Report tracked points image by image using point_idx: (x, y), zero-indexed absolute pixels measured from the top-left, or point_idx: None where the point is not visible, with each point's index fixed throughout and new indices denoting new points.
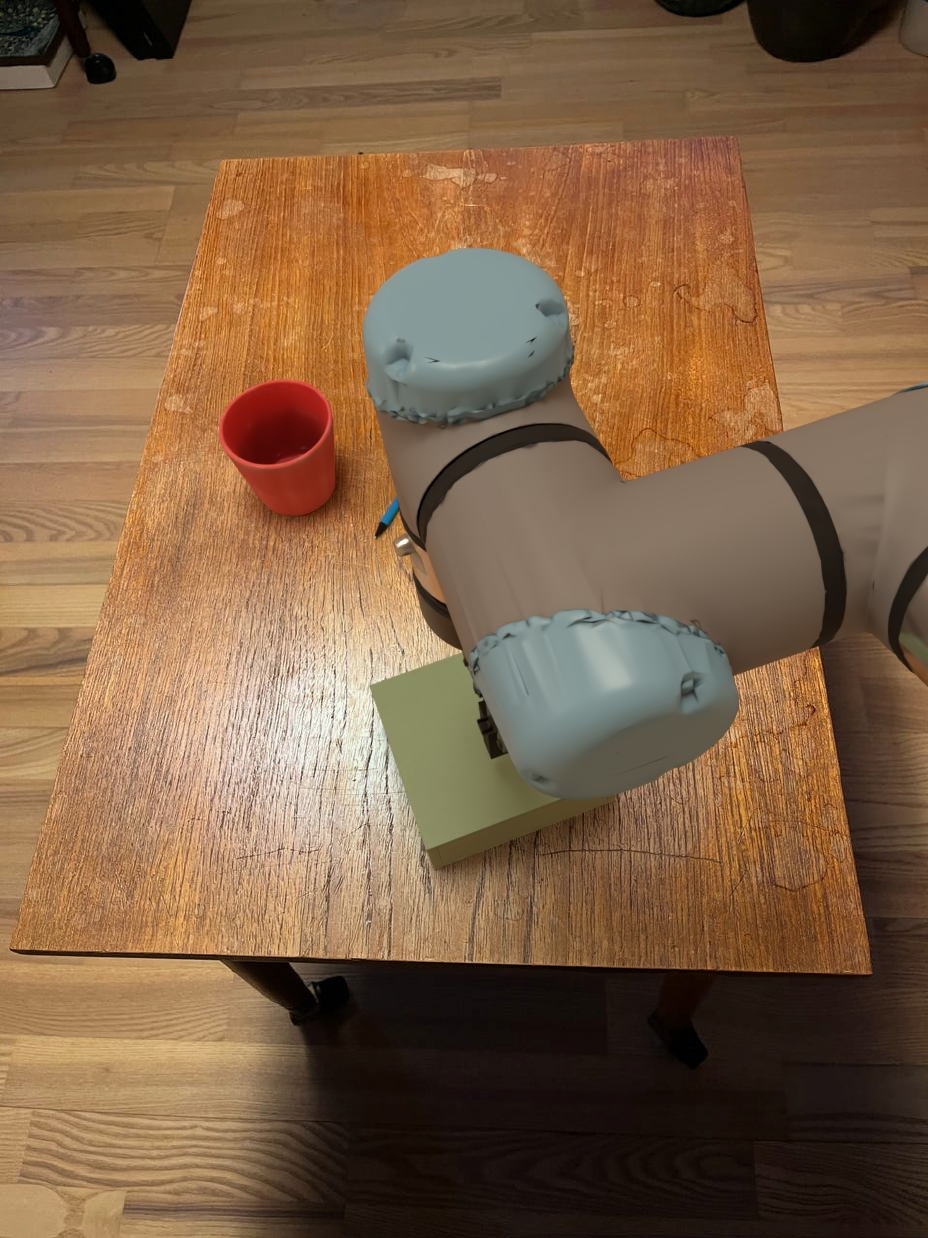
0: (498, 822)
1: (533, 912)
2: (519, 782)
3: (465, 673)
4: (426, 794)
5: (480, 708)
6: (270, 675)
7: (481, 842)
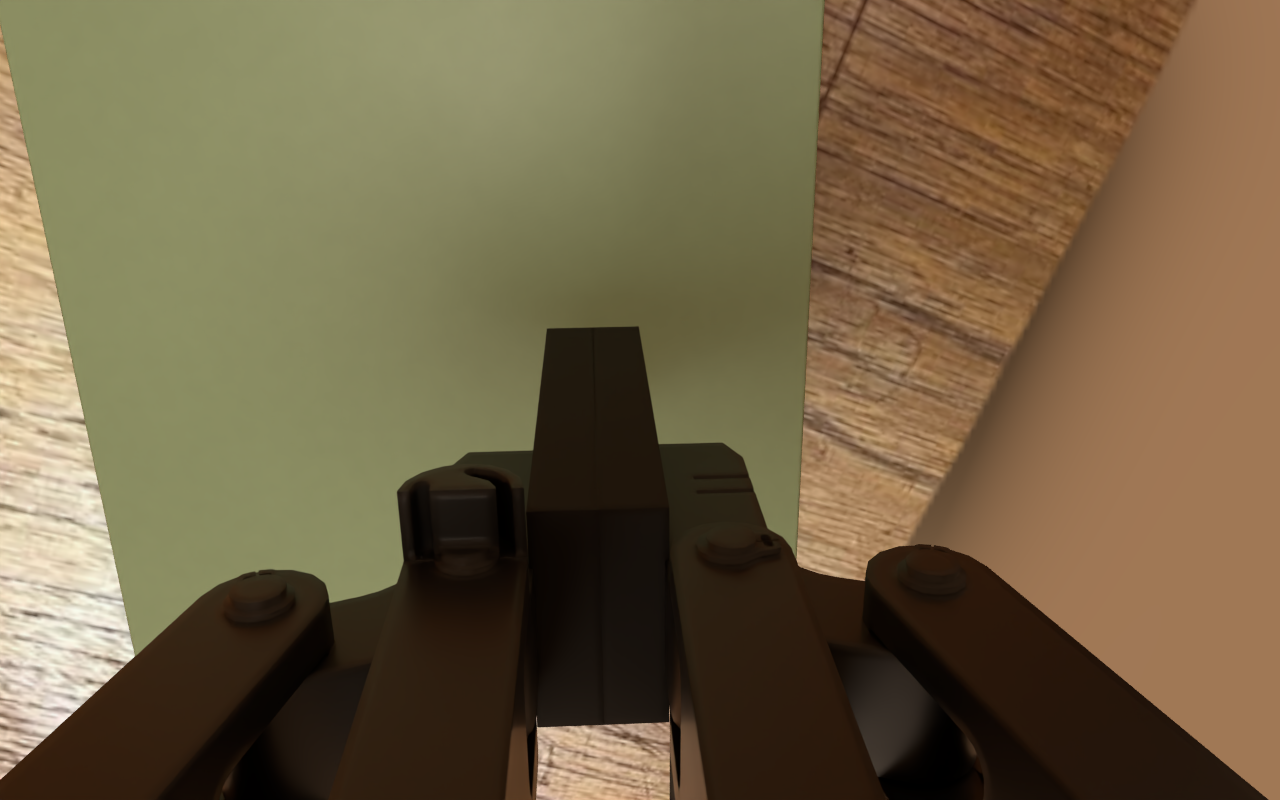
0: (801, 449)
1: (920, 305)
2: (691, 331)
3: (173, 365)
4: None
5: (577, 721)
6: (7, 770)
7: None
